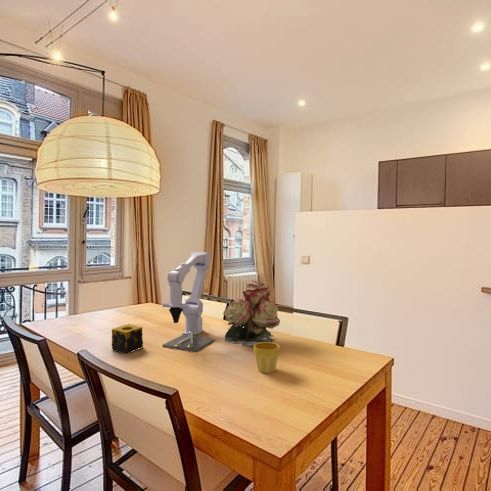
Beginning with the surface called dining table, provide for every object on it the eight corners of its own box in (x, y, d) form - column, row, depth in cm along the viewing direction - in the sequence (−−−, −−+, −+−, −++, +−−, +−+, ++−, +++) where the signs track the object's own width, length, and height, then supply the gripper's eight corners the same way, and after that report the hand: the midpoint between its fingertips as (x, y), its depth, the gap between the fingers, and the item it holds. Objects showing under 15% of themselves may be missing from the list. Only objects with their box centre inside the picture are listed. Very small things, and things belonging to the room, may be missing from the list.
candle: (128, 344, 171) (128, 323, 170) (143, 347, 166) (143, 326, 165) (111, 350, 162) (110, 328, 162) (126, 354, 157) (126, 332, 156)
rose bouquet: (217, 344, 172) (218, 282, 170) (245, 329, 198) (245, 275, 196) (266, 352, 160) (266, 287, 159) (288, 335, 186) (289, 279, 185)
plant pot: (263, 363, 148) (263, 339, 147) (284, 369, 141) (284, 345, 141) (248, 370, 140) (248, 346, 139) (269, 377, 133) (269, 352, 133)
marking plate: (183, 336, 184) (183, 332, 183) (214, 340, 177) (214, 336, 176) (162, 346, 167) (162, 342, 167) (195, 352, 160) (195, 347, 160)
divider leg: (188, 336, 178) (188, 330, 178) (194, 336, 179) (194, 330, 179) (188, 345, 165) (188, 339, 164) (194, 344, 165) (194, 339, 165)
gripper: (158, 295, 173) (158, 323, 174) (184, 297, 168) (184, 326, 169) (167, 293, 180) (167, 319, 180) (192, 295, 174) (192, 322, 175)
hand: (176, 322), depth 175 cm, fingers closed
